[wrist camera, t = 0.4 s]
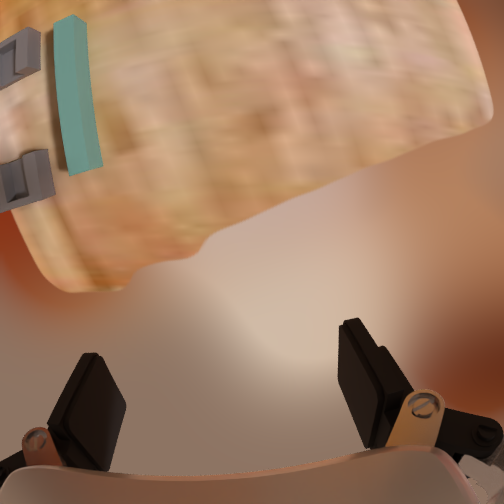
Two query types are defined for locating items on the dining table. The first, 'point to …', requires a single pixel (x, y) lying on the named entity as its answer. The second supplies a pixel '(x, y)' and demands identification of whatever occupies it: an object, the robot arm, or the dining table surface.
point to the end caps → (34, 163)
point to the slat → (75, 96)
